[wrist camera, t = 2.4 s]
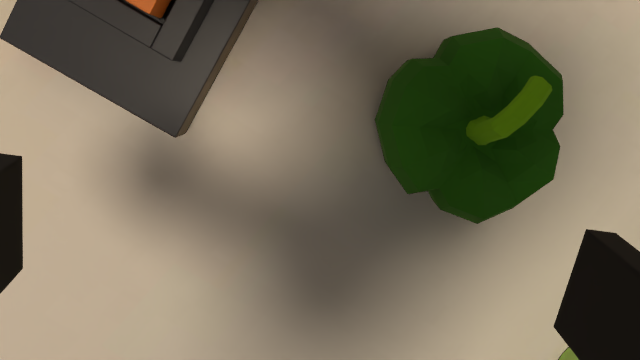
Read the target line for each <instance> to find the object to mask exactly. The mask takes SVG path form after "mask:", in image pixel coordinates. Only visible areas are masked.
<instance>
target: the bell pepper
mask: <svg viewBox="0 0 640 360" xmlns="http://www.w3.org/2000/svg"><path fill="white" fill-rule="evenodd" d="M562 116H563V80H562V75H561V74H560V73H559V72H558V71H557V70H556V69H555V68H554V67H553V66H552V65H551V64H550V63H549V62H548V61H547V60H545V59H544V58H543V57H542V56H541V55H540V54H539V53H538V52H537V51H536V50H535V49H534V48H533V47H532V46H531V45H530V44H529V43H527V42H525V41H523V40H521V39H519V38H517V37H515V36H513V35H511V34H509V33H507V32H506V31H504V30H502V29H500V28H493V29H487V30H482V31H477V32H472V33H466V34H461V35H456V36H452V37H449V38H447V39H444V40H443V42H442V44H441V45H440V47H439V49H438V51H437V52H436V54H435V56H434V58H427V59H410V60H407V61H406V62H405V63H404V64H403V65H402V66H401V67H400V68H399V69H398V70H397V71H396V72H395V73H394V74H393V75H392V76H391V78H390V79H389V80H388V82H387V85H386V88H385V91H384V94H383V97H382V100H381V103H380V106H379V109H378V112H377V115H376V118H375V122H376V127H377V131H378V135H379V139H380V143H381V147H382V151H383V156H384V160H385V162H386V164H387V165H388V167H389V168H390V170H391V171H392V173H393V174H394V175H395V177H396V178H397V180H398V181H399V182H400V184H401V185H402V187H403V188H404V190H405V191H406V192H407V194H411V193H417V192H423V191H428V192H429V194H430V196H431V198H432V200H433V201H434V202H435V203H436V205H437V206H438V207H439V208H440V210H443V211H446V212H448V213H451V214H453V215H456V216H458V217H461V218H464V219H466V220H469V221H471V222H474V223H477V224H478V223H480V222H482V221H485V220H487V219H489V218H491V217H494V216H496V215H498V214H500V213H503V212H505V211H507V210H509V209H512V208H514V207H515V206H516V205H518V204H519V203H521V202H522V201H523V200H525V199H526V198H528V197H529V196H530V195H532V194H533V193H535V192H536V191H537V190H539V189H540V188H542V187H543V186H544V185H546V184H547V183H549V182H550V181H552V180H553V179H554V174H555V169H556V164H557V159H558V154H559V150H560V145H559V143H558V140H557V138H556V136H555V134H554V132H553V128H554V127H555V126H556V124H557V123H558V121H559V120H560V119H561V117H562Z"/></svg>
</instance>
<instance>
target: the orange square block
mask: <svg viewBox="0 0 640 360" xmlns="http://www.w3.org/2000/svg"><path fill="white" fill-rule="evenodd" d="M126 1H127V2H129V3H131V4H133V5H134V6H136V7H138V8H139V9H141V10H143V11H144V12H146V13H148V14H150V15H153V16H155V17H158V18H162V17H163V15H164V13H165V11H166V9H167V7H168V6H169V4H170V2H171V0H126Z"/></svg>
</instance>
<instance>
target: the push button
mask: <svg viewBox="0 0 640 360" xmlns="http://www.w3.org/2000/svg"><path fill="white" fill-rule="evenodd" d="M257 1H258V0H171V2H170V4H169V6H168V7H167V9H166V11H165V13H164V15H163V17H162V18H158V17H155V16H153V15H150V14H148V13H146V12H144V11H143V10H141V9H139V8H138V7H136V6H134V5H133V4H131V3H129V2H127V1H126V0H17V2H16V4H15V6H14V8H13V10H12V12H11V14H10V16H9V18H8V21H7V23H6V25H5V27H4V29H3V31H2V33H1V35H0V38H1V39H3V40H4V41H6V42H8V43H10V44H11V45H13V46H15V47H17V48H18V49H20V50H22V51H24V52H25V53H27V54H29V55H31V56H32V57H34V58H36V59H38V60H39V61H41V62H43V63H45V64H47V65H48V66H50V67H52V68H54V69H55V70H57V71H59V72H61V73H62V74H64V75H66V76H68V77H69V78H71V79H73V80H75V81H76V82H78V83H80V84H82V85H83V86H85V87H87V88H89V89H90V90H92V91H94V92H96V93H97V94H99V95H101V96H103V97H104V98H106V99H108V100H110V101H111V102H113V103H115V104H117V105H118V106H120V107H122V108H124V109H125V110H127V111H129V112H131V113H133V114H134V115H136V116H138V117H140V118H141V119H143V120H145V121H147V122H148V123H150V124H152V125H154V126H155V127H157V128H159V129H161V130H162V131H164V132H166V133H168V134H169V135H171V136H173V137H175V138H176V137H178V136H180V135H183V134H185V133H186V131H187V129H188V127H189V126H190V124H191V122H192V120H193V118H194V116H195V115H196V113H197V111H198V109H199V107H200V105H201V104H202V102H203V100H204V98H205V96H206V94H207V93H208V91H209V89H210V87H211V85H212V83H213V82H214V80H215V78H216V76H217V74H218V73H219V71H220V69H221V67H222V65H223V63H224V62H225V60H226V58H227V56H228V54H229V52H230V51H231V49H232V47H233V45H234V43H235V41H236V40H237V38H238V36H239V34H240V32H241V30H242V29H243V27H244V25H245V23H246V21H247V19H248V18H249V16H250V14H251V12H252V10H253V9H254V7H255V5H256V3H257Z"/></svg>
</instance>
